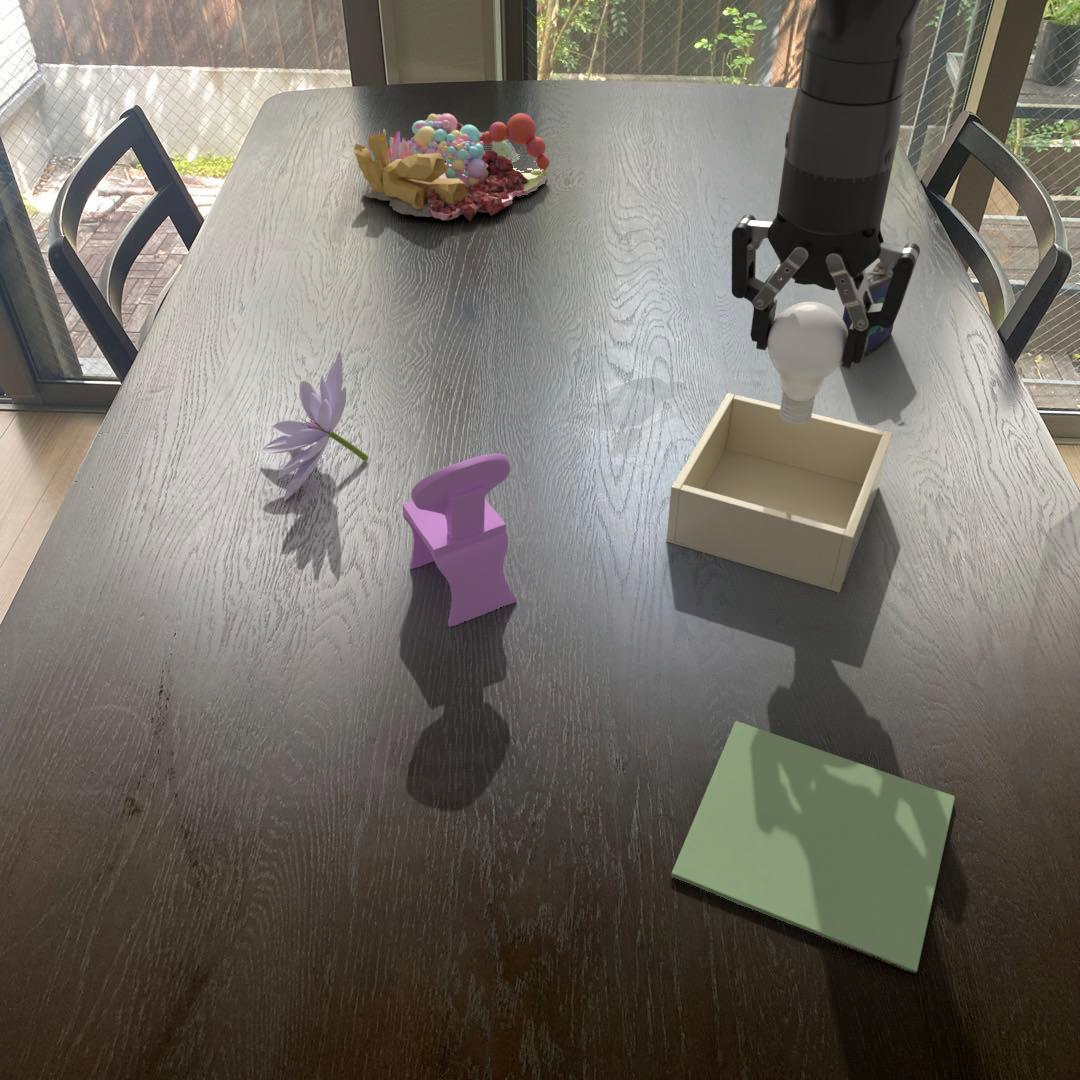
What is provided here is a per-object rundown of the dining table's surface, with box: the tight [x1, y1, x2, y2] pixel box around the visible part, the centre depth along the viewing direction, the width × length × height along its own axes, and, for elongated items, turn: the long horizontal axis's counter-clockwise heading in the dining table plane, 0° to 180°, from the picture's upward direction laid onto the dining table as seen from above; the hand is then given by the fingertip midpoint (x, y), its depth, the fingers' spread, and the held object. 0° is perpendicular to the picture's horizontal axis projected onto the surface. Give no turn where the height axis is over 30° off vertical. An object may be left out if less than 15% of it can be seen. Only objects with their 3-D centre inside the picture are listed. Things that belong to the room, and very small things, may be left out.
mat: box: [670, 720, 956, 972], centre depth 74 cm, size 16×14×1 cm
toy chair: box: [401, 453, 518, 628], centre depth 88 cm, size 8×9×15 cm
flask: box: [842, 259, 894, 358], centre depth 117 cm, size 9×3×11 cm, turn 133°
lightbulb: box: [767, 301, 848, 424], centre depth 88 cm, size 6×6×11 cm
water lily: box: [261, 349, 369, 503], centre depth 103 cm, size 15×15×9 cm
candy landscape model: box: [352, 112, 550, 222], centre depth 149 cm, size 25×24×9 cm
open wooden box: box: [665, 392, 894, 593], centre depth 97 cm, size 16×16×6 cm
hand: (805, 353), depth 88 cm, fingers closed on lightbulb, 6 cm apart
